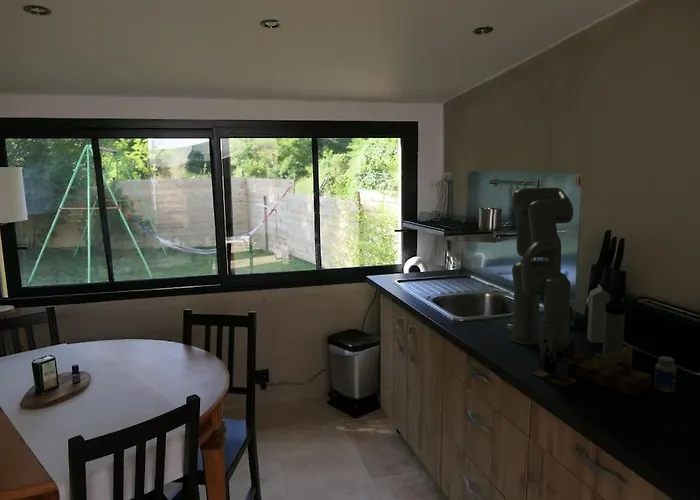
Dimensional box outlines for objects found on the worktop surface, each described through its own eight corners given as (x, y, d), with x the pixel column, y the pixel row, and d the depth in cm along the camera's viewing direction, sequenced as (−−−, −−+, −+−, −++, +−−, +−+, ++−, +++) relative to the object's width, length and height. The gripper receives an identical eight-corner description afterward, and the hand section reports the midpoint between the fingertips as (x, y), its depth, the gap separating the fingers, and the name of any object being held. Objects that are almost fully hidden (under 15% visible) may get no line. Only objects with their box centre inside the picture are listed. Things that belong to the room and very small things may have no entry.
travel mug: (625, 360, 169) (629, 305, 166) (605, 360, 171) (608, 304, 168) (619, 354, 176) (623, 300, 172) (600, 353, 177) (603, 299, 174)
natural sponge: (579, 327, 205) (580, 304, 203) (563, 330, 202) (564, 307, 200) (562, 321, 213) (563, 299, 212) (546, 324, 210) (547, 302, 208)
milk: (590, 342, 188) (593, 287, 184) (587, 337, 193) (589, 283, 190) (607, 343, 186) (610, 287, 182) (603, 338, 192) (606, 283, 188)
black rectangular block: (538, 369, 159) (539, 356, 159) (547, 365, 162) (547, 352, 161) (567, 379, 151) (568, 365, 150) (575, 375, 154) (576, 362, 153)
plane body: (553, 369, 165) (554, 343, 163) (570, 361, 170) (571, 337, 169) (634, 396, 144) (636, 367, 142) (650, 387, 149) (652, 359, 148)
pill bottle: (675, 394, 144) (677, 363, 143) (653, 390, 147) (656, 360, 146) (674, 387, 149) (677, 357, 147) (653, 383, 152) (656, 353, 150)
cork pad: (531, 374, 161) (531, 372, 161) (542, 369, 164) (542, 368, 164) (565, 387, 151) (565, 385, 151) (576, 381, 155) (576, 380, 154)
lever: (625, 371, 151) (627, 344, 150) (632, 374, 149) (634, 347, 148) (590, 381, 145) (592, 354, 144) (597, 384, 143) (599, 356, 142)
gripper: (560, 308, 162) (558, 360, 165) (529, 318, 153) (527, 374, 156) (582, 313, 156) (579, 367, 159) (551, 324, 147) (549, 381, 150)
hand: (553, 370), depth 157 cm, fingers closed on black rectangular block, 4 cm apart
